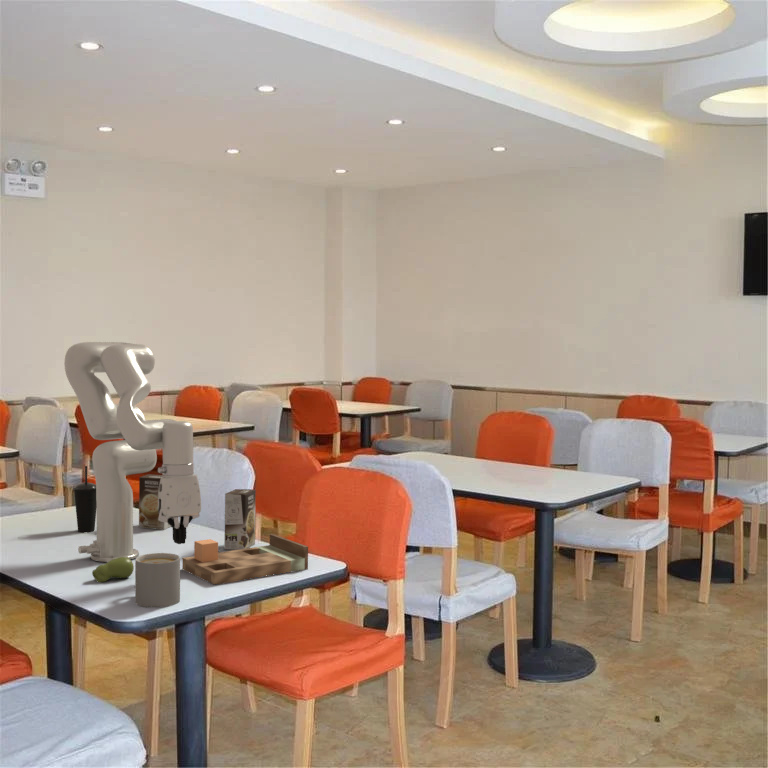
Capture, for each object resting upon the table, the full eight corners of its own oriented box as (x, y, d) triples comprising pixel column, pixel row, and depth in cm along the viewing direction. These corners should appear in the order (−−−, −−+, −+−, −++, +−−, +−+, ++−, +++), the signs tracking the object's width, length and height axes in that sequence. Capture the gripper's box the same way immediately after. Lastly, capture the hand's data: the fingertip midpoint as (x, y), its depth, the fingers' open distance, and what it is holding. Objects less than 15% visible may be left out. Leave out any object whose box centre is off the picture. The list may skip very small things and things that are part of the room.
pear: (134, 557, 230) (94, 568, 225) (137, 577, 230) (97, 589, 225) (127, 552, 234) (88, 563, 229) (131, 572, 235) (91, 583, 230)
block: (202, 562, 236) (202, 544, 236) (194, 558, 240) (194, 541, 239) (218, 559, 239) (218, 542, 238) (210, 556, 242) (210, 539, 242)
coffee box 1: (137, 528, 289) (137, 477, 288) (147, 524, 295) (147, 473, 294) (164, 530, 287) (164, 478, 286) (174, 525, 293) (174, 475, 292)
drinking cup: (88, 527, 289) (88, 463, 288) (104, 530, 284) (104, 465, 283) (67, 531, 282) (67, 466, 281) (83, 534, 278) (83, 468, 277)
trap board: (214, 585, 226) (214, 560, 226) (182, 569, 240) (182, 546, 240) (307, 569, 242) (308, 546, 242) (272, 555, 257) (272, 533, 256)
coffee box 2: (245, 551, 261) (245, 494, 260) (223, 549, 262) (224, 493, 261) (256, 544, 270) (256, 489, 269) (235, 542, 271) (235, 488, 270)
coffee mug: (185, 604, 210) (185, 560, 209) (141, 609, 205) (141, 565, 205) (169, 589, 222) (169, 548, 221) (127, 594, 217) (127, 552, 216)
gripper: (156, 474, 225) (157, 549, 226) (212, 469, 234) (213, 541, 235) (144, 471, 231) (145, 544, 232) (198, 466, 240) (200, 536, 241)
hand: (179, 542), depth 233 cm, fingers closed
